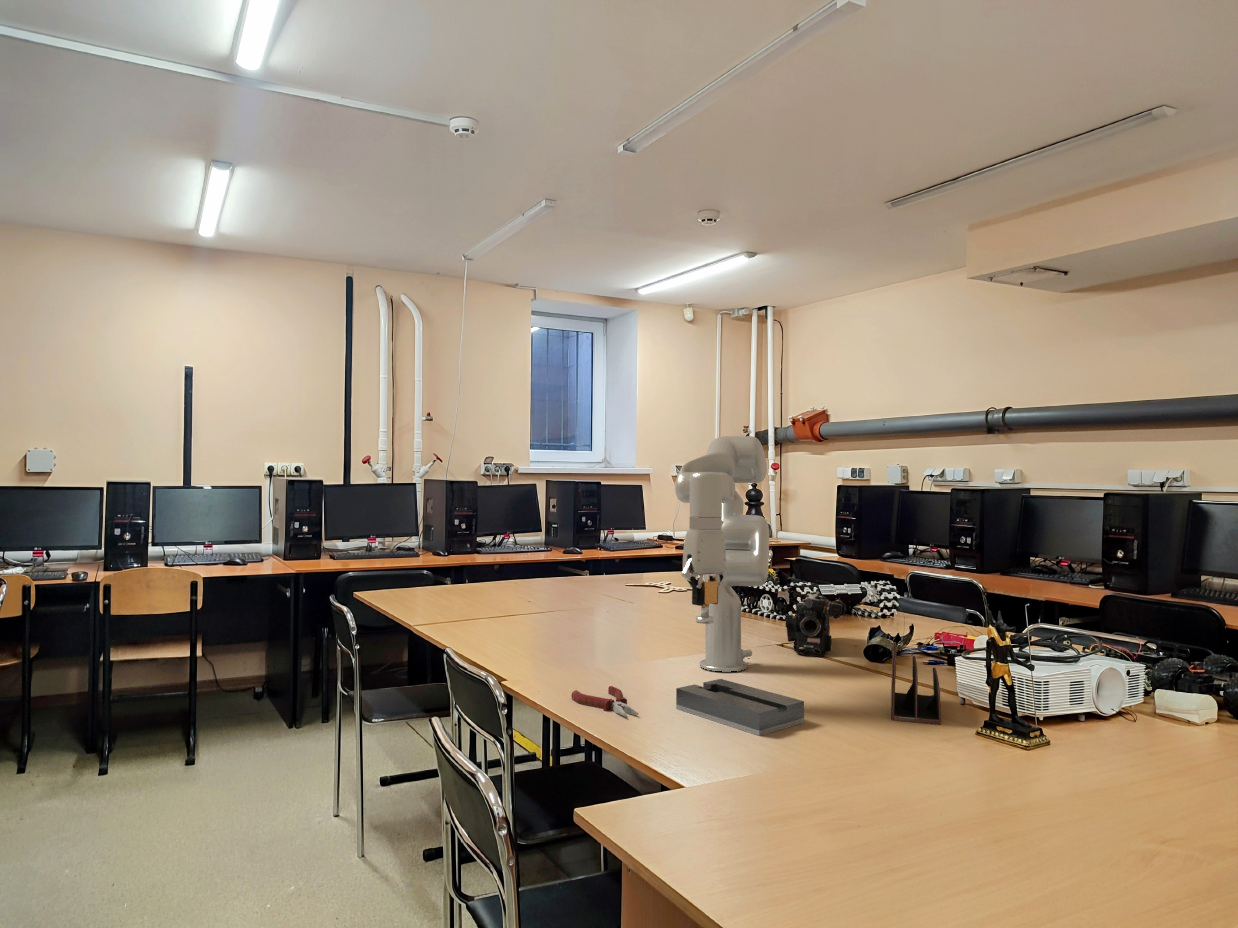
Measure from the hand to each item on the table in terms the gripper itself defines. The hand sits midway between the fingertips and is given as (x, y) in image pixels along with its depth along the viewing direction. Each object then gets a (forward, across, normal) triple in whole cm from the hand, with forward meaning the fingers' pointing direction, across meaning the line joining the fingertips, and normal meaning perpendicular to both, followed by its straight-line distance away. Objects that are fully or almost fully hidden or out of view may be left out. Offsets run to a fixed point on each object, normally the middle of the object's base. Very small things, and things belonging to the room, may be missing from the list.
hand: (705, 603), depth 188 cm
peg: (+4, 0, 0) cm, 4 cm away
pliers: (+23, +22, -10) cm, 33 cm away
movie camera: (+21, -67, -20) cm, 73 cm away
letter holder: (+22, -32, +34) cm, 51 cm away
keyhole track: (+22, +3, +13) cm, 26 cm away
